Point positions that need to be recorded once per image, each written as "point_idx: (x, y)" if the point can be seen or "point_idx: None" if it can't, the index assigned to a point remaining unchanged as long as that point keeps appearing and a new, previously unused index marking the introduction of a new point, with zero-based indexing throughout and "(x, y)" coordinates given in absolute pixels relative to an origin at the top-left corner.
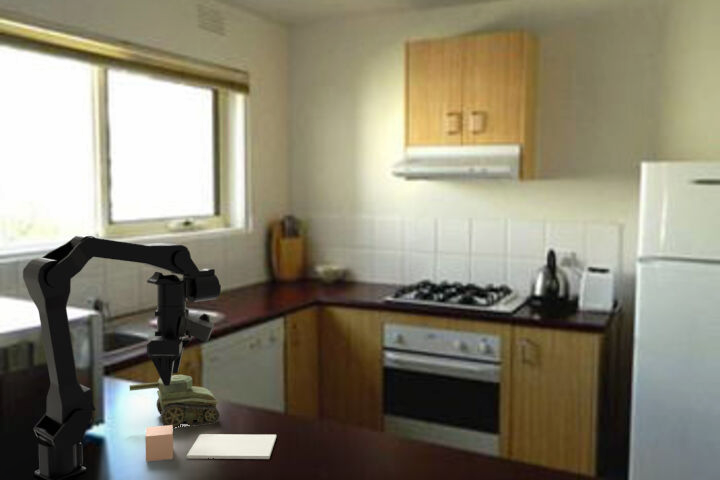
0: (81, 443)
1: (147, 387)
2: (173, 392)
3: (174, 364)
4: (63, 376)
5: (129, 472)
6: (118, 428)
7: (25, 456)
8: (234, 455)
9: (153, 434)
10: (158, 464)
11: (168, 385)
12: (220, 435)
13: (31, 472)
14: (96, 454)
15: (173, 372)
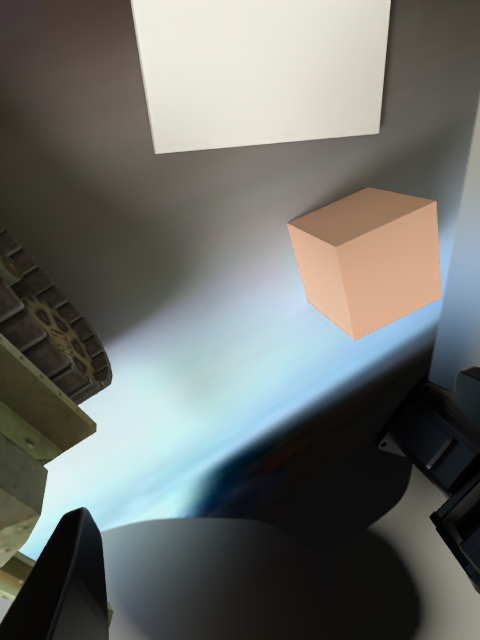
0: (450, 439)
1: None
2: (3, 435)
3: (90, 625)
4: None
5: (442, 276)
6: (130, 482)
7: (333, 529)
8: None
9: (428, 277)
10: None
11: (469, 370)
12: (152, 24)
13: (408, 467)
14: (327, 416)
15: (97, 537)
